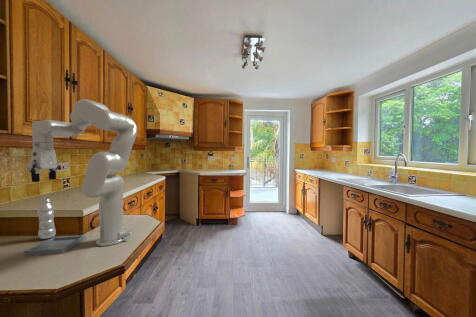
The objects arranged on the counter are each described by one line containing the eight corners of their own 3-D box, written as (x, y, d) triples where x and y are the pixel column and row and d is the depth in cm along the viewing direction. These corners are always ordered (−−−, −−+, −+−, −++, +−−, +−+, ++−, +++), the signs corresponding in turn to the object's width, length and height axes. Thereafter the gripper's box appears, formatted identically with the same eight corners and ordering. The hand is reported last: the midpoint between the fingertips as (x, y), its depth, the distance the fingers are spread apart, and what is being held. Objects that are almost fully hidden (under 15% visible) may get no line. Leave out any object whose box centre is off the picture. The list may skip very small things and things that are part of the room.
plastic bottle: (45, 241, 98) (43, 200, 98) (34, 240, 99) (32, 199, 99) (59, 235, 104) (58, 197, 104) (49, 235, 106) (47, 197, 106)
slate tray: (85, 239, 99) (85, 235, 99) (62, 253, 84) (62, 248, 84) (53, 241, 98) (53, 237, 98) (24, 255, 83) (24, 251, 83)
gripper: (35, 145, 93) (36, 182, 93) (64, 147, 111) (65, 178, 111) (17, 145, 93) (19, 183, 93) (49, 147, 110) (51, 179, 110)
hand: (44, 180), depth 102 cm, fingers open, 9 cm apart
